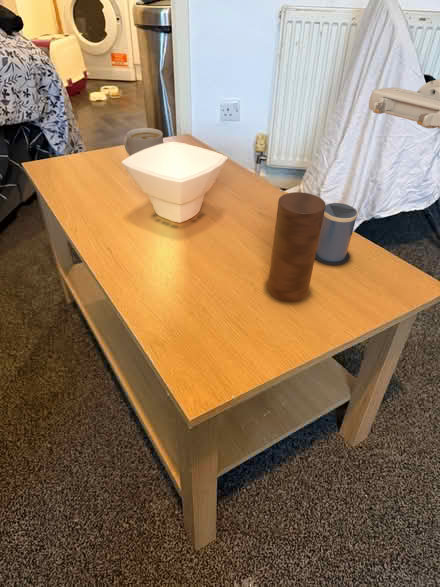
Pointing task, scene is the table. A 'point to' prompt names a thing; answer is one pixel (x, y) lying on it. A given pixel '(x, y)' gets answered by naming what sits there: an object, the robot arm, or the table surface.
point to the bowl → (175, 177)
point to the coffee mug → (142, 139)
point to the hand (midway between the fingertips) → (398, 114)
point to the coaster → (332, 262)
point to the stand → (295, 245)
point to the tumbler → (336, 231)
